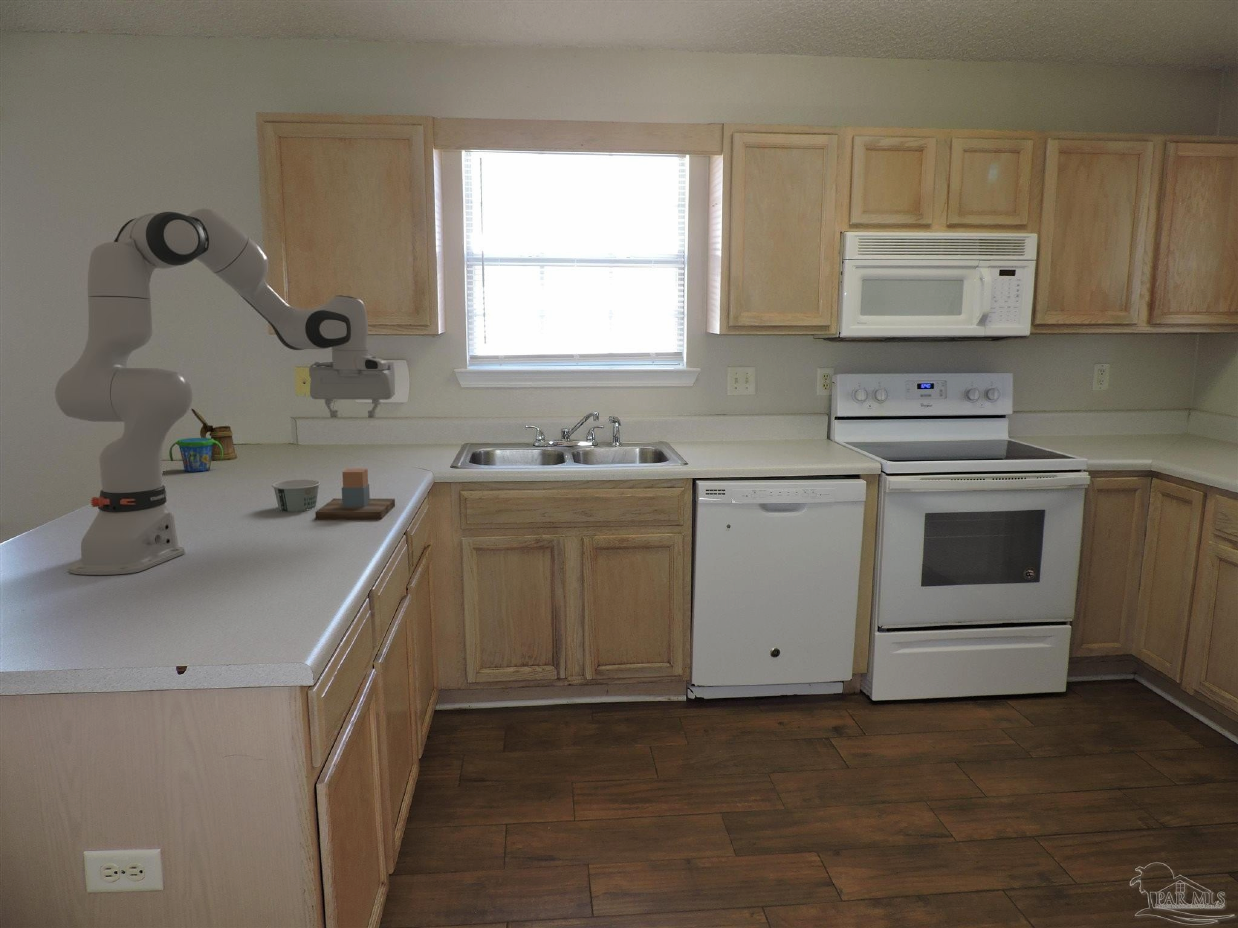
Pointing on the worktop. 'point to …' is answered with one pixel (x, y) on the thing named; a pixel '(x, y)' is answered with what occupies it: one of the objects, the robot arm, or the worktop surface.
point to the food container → (296, 494)
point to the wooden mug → (218, 439)
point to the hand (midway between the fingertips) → (353, 417)
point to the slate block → (355, 497)
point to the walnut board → (355, 510)
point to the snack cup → (196, 453)
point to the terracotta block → (355, 478)
